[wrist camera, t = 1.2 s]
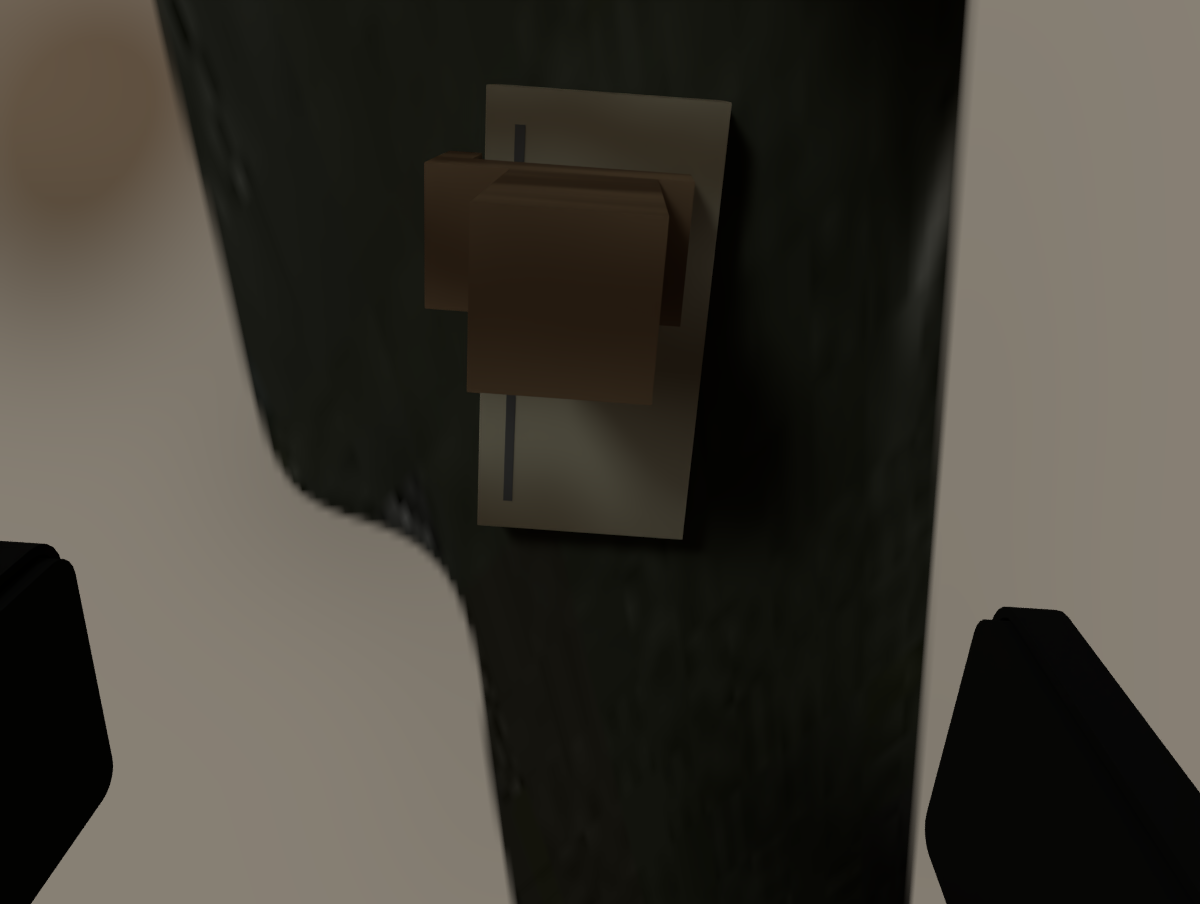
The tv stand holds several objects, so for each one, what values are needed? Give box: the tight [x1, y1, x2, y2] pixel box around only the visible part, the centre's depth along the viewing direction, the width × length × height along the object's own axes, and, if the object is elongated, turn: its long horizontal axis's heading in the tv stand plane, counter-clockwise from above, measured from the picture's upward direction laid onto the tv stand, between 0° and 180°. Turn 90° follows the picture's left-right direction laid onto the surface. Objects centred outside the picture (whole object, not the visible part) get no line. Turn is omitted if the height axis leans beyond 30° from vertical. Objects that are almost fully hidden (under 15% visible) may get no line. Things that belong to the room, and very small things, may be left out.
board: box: [477, 84, 732, 540], centre depth 30 cm, size 14×7×2 cm, turn 176°
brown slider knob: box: [424, 151, 695, 405], centre depth 25 cm, size 4×7×11 cm, turn 86°
